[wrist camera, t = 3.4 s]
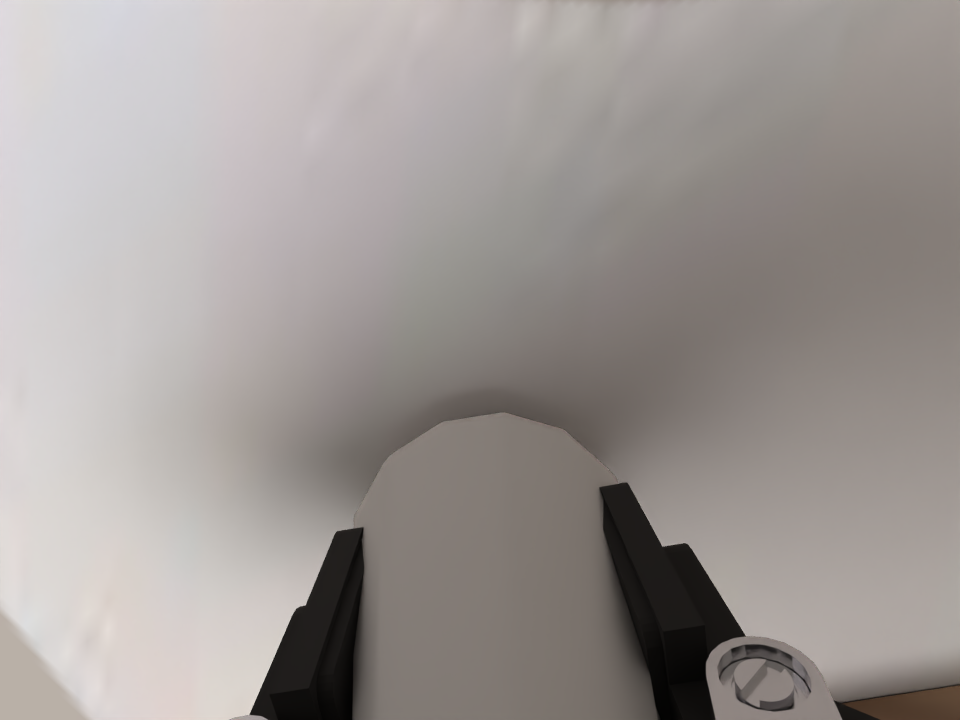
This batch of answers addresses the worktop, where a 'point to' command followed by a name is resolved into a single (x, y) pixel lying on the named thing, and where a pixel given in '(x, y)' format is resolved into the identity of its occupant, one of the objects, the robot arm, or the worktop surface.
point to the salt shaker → (493, 583)
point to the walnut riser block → (914, 705)
